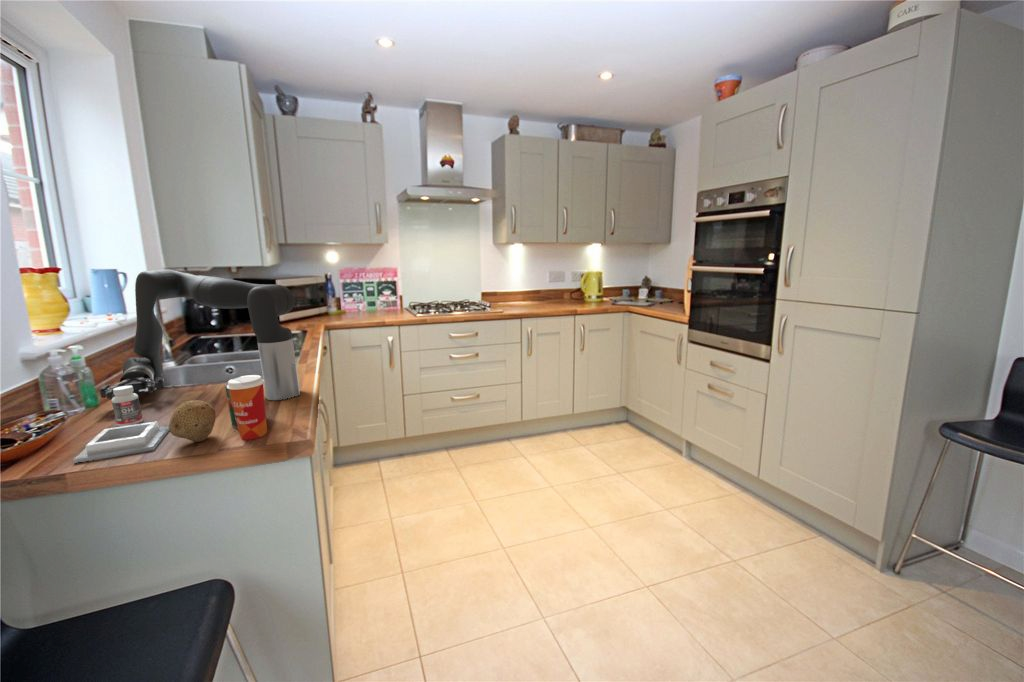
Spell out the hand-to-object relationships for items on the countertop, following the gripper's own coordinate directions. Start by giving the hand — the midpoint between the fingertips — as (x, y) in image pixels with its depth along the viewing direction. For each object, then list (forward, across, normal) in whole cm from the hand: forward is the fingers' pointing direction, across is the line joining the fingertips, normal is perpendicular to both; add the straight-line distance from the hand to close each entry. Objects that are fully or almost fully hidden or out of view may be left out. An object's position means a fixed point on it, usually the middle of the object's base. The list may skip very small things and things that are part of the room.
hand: (130, 392), depth 127 cm
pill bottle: (+9, 0, +6) cm, 11 cm away
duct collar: (+27, +1, +6) cm, 27 cm away
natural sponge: (+35, +15, +6) cm, 39 cm away
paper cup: (+39, +26, +6) cm, 47 cm away
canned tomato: (+29, +26, +6) cm, 39 cm away
